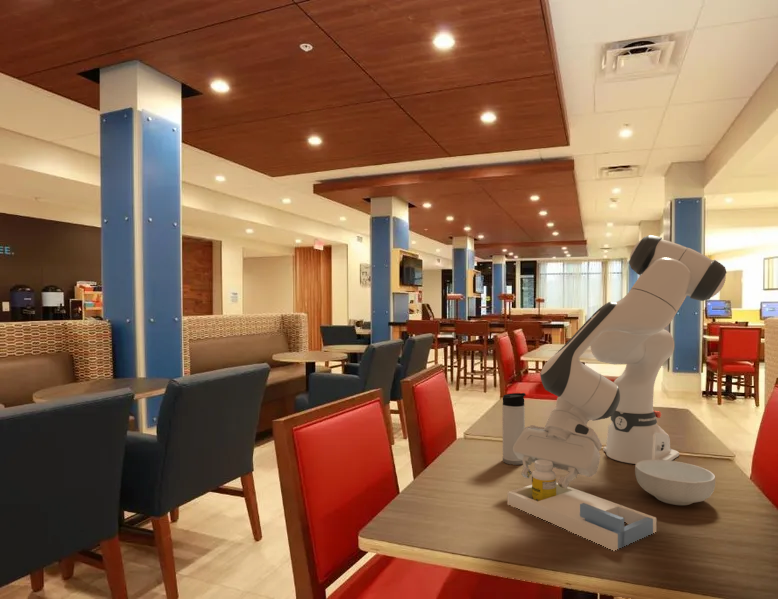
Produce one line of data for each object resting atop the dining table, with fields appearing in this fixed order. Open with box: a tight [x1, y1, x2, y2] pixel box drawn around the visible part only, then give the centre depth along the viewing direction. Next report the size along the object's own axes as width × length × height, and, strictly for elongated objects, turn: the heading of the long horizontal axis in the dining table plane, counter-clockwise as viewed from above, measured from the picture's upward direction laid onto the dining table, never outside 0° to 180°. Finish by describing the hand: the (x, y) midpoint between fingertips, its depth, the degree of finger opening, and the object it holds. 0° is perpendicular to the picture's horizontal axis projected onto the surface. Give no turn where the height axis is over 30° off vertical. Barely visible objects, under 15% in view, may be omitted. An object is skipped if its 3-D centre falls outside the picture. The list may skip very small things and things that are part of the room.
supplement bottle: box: [531, 460, 557, 501], centre depth 121 cm, size 5×5×10 cm
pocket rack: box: [507, 481, 657, 552], centre depth 114 cm, size 14×27×6 cm, turn 33°
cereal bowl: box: [634, 459, 716, 506], centre depth 124 cm, size 17×17×7 cm
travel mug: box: [502, 392, 527, 466], centre depth 153 cm, size 6×7×20 cm
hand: (542, 481), depth 121 cm, fingers open, 8 cm apart
